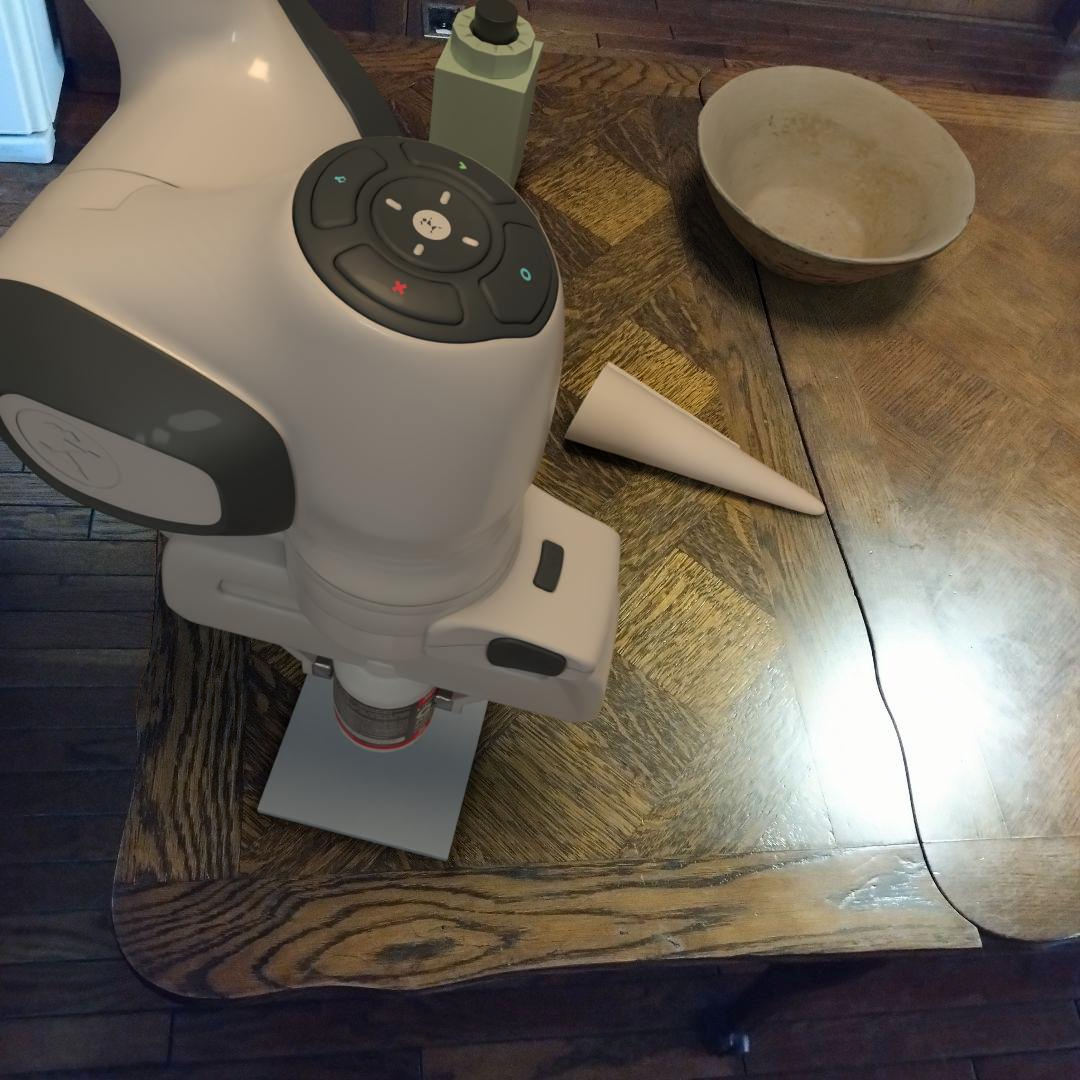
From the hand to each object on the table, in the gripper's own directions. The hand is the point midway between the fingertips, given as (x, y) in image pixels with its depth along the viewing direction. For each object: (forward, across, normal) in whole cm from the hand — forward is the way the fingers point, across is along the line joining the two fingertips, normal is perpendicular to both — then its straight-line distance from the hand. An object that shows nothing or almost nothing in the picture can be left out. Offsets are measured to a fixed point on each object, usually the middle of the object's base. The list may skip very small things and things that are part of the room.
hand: (387, 681), depth 50 cm
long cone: (+10, +16, +26) cm, 32 cm away
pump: (-4, -7, +51) cm, 52 cm away
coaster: (+10, 0, 0) cm, 10 cm away
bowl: (+10, +22, +55) cm, 60 cm away
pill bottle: (+4, 0, 0) cm, 4 cm away
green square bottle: (+10, -7, +51) cm, 52 cm away
